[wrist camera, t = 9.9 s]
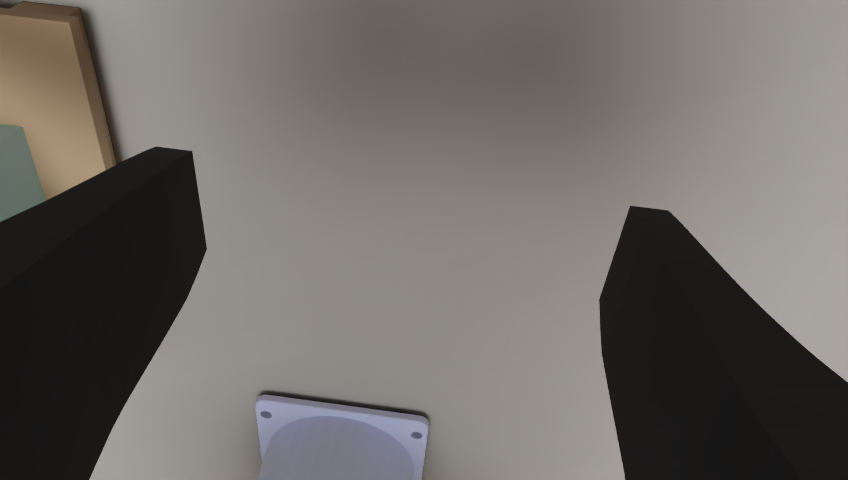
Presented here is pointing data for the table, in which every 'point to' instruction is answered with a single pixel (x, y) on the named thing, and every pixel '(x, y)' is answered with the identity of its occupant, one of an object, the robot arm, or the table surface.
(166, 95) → the table surface
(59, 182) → the thin wooden board
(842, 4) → the table surface
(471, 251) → the table surface
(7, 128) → the pale teal rectangular block
